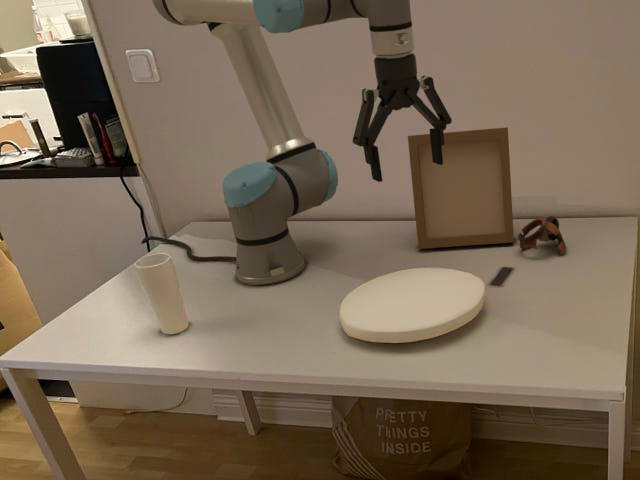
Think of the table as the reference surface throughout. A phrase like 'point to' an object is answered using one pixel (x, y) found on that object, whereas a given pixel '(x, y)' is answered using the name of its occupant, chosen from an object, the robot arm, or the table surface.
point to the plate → (412, 305)
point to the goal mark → (501, 276)
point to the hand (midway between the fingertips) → (408, 171)
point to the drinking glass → (162, 291)
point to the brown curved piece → (542, 233)
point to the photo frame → (462, 189)
